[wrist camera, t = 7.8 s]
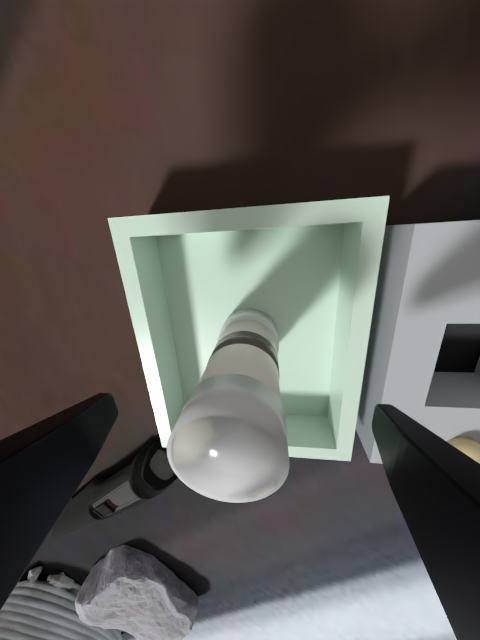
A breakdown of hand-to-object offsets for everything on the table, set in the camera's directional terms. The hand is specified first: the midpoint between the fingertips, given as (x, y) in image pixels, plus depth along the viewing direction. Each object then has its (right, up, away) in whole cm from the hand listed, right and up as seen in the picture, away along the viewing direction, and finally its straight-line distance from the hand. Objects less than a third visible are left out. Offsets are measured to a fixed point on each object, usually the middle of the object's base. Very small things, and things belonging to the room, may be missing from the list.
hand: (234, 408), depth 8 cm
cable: (-24, -38, +25) cm, 51 cm away
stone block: (-10, -27, +19) cm, 34 cm away
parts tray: (+1, +2, +6) cm, 7 cm away
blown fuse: (+1, +2, +6) cm, 6 cm away
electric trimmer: (-11, -12, +14) cm, 21 cm away
